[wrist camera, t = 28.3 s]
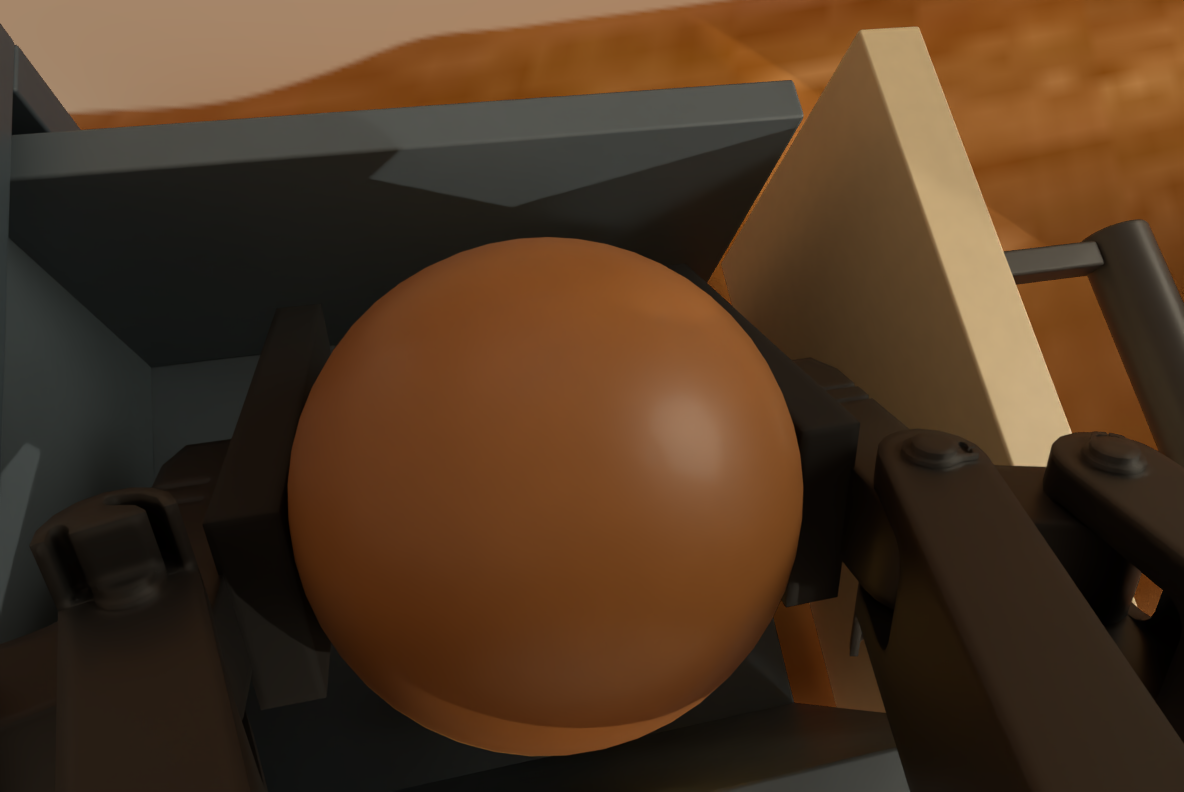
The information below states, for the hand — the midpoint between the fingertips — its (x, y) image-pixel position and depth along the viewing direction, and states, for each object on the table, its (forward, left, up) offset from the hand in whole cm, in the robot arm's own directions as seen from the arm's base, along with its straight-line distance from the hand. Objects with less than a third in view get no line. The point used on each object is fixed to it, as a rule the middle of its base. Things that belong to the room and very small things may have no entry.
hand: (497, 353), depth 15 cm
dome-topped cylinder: (-3, +2, -4) cm, 5 cm away
